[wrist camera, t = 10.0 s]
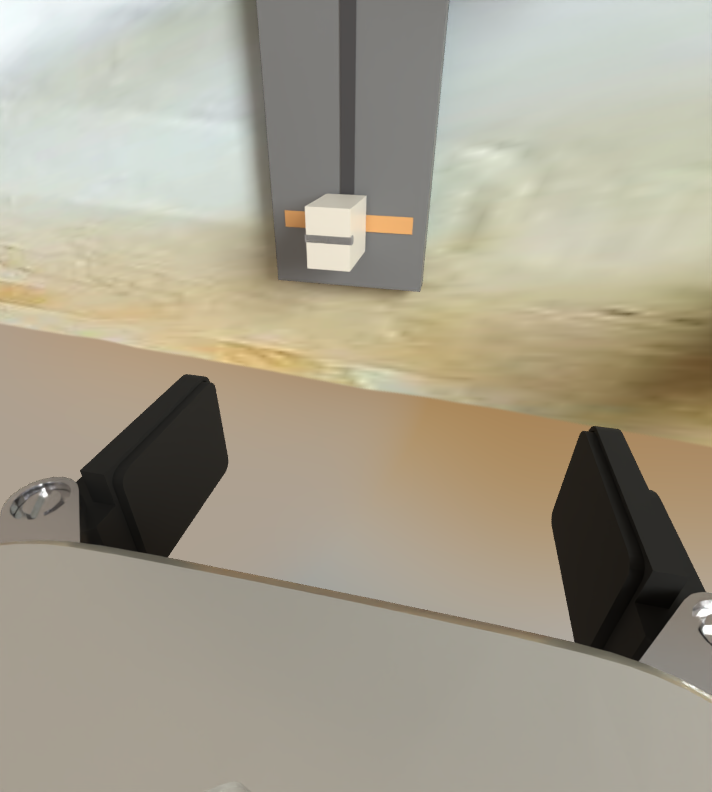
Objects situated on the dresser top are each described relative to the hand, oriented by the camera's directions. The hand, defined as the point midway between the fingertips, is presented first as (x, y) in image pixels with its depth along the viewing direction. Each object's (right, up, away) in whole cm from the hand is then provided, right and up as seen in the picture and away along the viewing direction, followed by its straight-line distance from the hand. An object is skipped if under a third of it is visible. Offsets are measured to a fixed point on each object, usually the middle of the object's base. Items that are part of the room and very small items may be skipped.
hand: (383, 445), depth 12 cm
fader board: (-1, +22, +21) cm, 30 cm away
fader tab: (-1, +14, +23) cm, 27 cm away
